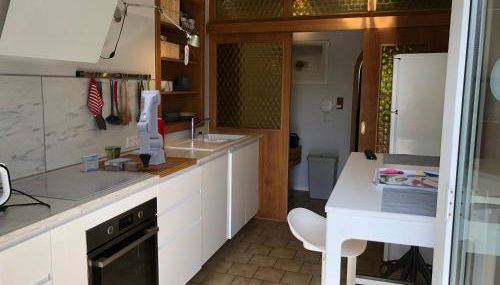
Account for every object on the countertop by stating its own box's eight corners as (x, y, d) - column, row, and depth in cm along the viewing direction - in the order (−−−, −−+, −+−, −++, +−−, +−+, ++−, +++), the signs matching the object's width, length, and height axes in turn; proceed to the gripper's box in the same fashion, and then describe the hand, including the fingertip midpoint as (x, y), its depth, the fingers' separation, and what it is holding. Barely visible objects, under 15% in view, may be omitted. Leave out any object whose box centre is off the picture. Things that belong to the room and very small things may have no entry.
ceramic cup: (104, 162, 267) (103, 146, 266) (120, 160, 271) (119, 145, 270) (106, 165, 255) (105, 149, 254) (124, 164, 260) (122, 147, 258)
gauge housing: (119, 165, 254) (119, 157, 253) (133, 166, 249) (132, 158, 249) (104, 169, 243) (104, 161, 242) (118, 170, 238) (117, 162, 238)
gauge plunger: (122, 165, 251) (121, 158, 251) (133, 166, 247) (133, 159, 247) (107, 169, 241) (107, 162, 240) (119, 170, 237) (119, 163, 236)
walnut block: (130, 168, 245) (130, 161, 245) (141, 169, 242) (141, 162, 241) (124, 170, 241) (124, 163, 240) (135, 171, 237) (135, 164, 237)
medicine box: (86, 172, 238) (85, 156, 237) (82, 171, 241) (80, 156, 239) (99, 169, 244) (97, 154, 243) (94, 168, 247) (93, 154, 246)
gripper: (129, 143, 235) (131, 168, 237) (150, 144, 229) (152, 169, 231) (137, 142, 242) (139, 165, 243) (158, 143, 235) (160, 167, 237)
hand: (146, 167), depth 238 cm, fingers closed
